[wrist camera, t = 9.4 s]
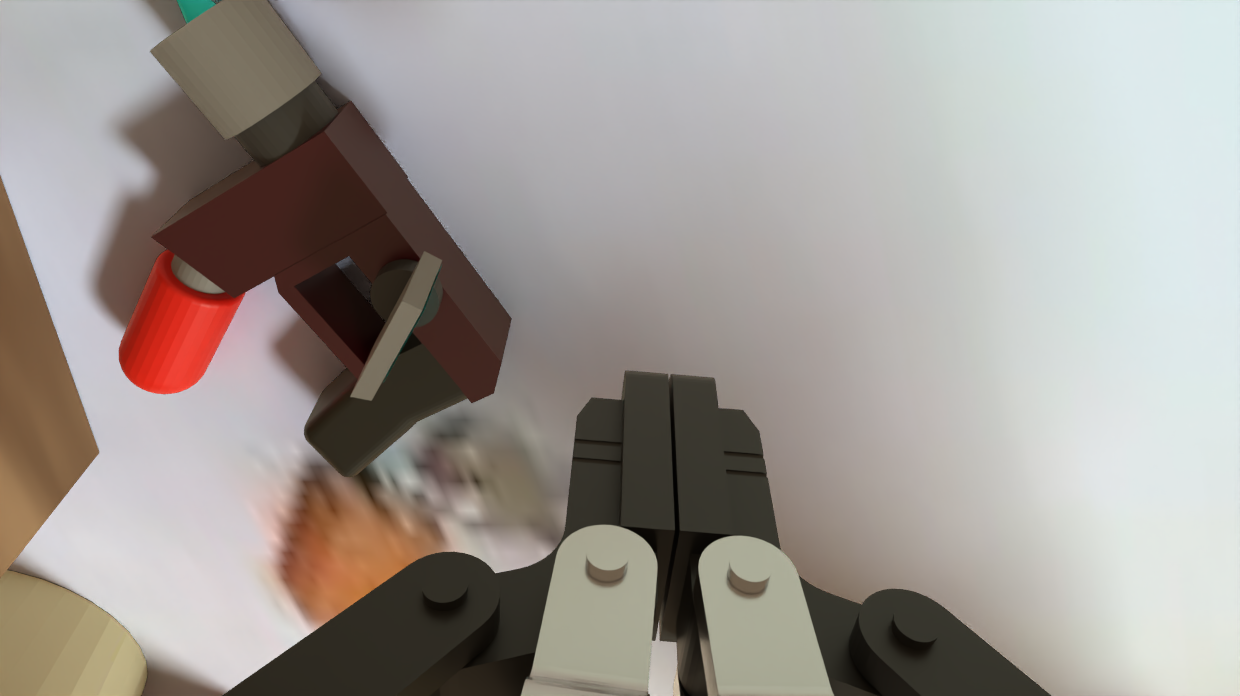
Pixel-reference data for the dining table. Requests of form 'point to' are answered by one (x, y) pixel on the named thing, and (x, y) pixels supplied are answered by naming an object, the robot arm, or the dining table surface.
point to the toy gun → (310, 245)
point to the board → (33, 402)
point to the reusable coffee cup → (63, 644)
